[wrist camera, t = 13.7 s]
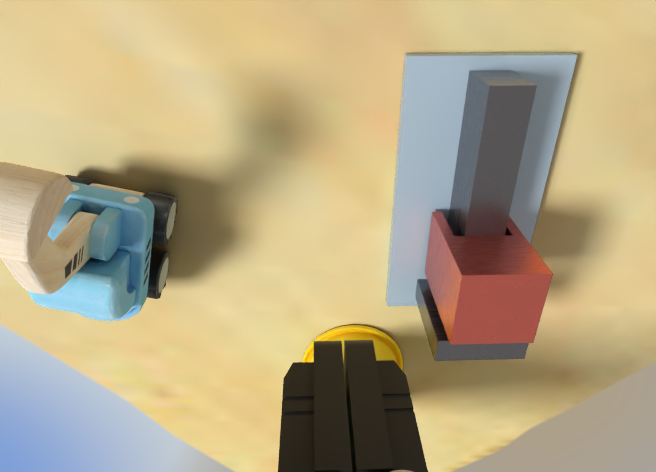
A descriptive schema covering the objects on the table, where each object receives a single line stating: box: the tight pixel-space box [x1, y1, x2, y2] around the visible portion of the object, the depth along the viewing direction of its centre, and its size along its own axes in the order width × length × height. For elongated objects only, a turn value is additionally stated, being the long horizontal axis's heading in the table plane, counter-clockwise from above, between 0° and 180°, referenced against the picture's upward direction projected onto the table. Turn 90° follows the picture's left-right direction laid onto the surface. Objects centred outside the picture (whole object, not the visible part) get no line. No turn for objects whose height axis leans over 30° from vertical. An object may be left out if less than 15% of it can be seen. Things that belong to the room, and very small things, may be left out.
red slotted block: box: [425, 211, 553, 345], centre depth 37 cm, size 6×6×9 cm
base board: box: [386, 53, 577, 306], centre depth 40 cm, size 22×12×1 cm, turn 0°
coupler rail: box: [415, 70, 537, 361], centre depth 36 cm, size 20×7×8 cm, turn 0°
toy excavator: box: [0, 162, 177, 321], centre depth 32 cm, size 9×17×17 cm, turn 166°
